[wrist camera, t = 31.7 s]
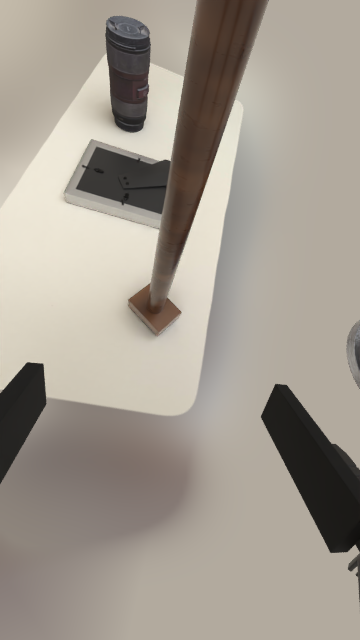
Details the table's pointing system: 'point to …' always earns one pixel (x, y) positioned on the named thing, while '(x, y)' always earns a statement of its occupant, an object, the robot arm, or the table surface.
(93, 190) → the picture frame
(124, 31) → the camera lens
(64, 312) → the table surface
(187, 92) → the brown piece
